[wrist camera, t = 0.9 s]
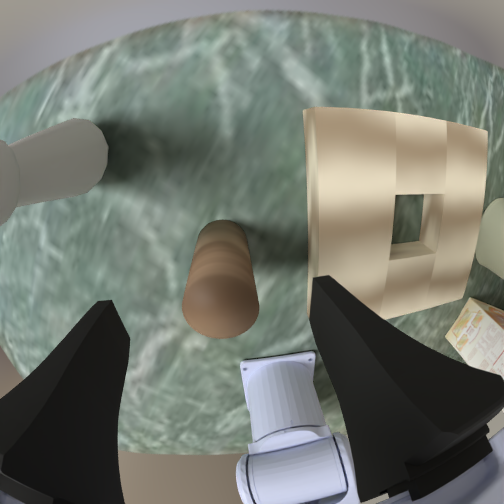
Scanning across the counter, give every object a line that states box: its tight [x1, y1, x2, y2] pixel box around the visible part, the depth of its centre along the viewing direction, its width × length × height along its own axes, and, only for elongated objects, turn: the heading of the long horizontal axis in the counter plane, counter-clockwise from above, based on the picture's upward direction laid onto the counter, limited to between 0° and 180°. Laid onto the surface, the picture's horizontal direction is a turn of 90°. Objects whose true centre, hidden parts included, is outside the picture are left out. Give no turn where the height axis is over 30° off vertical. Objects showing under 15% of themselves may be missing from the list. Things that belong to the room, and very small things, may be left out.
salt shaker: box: [0, 118, 109, 226], centre depth 12 cm, size 6×6×13 cm
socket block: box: [303, 107, 487, 320], centre depth 21 cm, size 18×18×3 cm
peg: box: [182, 220, 259, 339], centre depth 18 cm, size 4×4×9 cm
